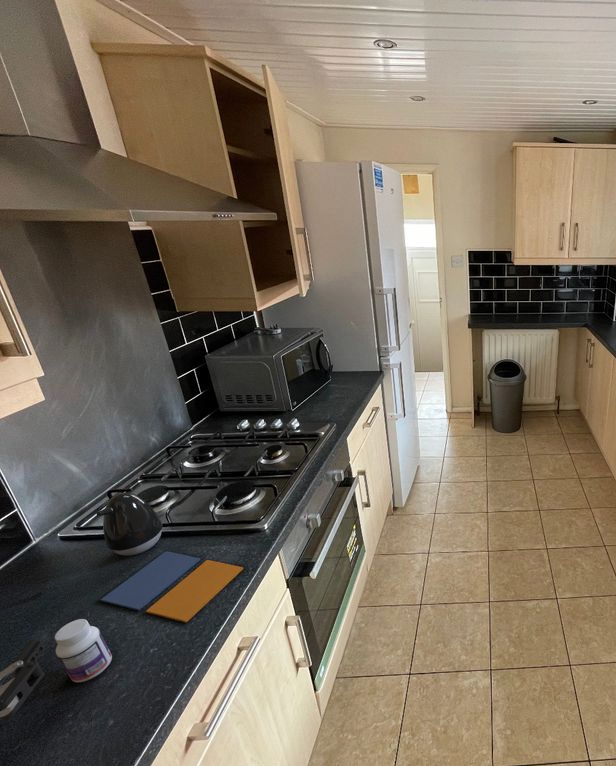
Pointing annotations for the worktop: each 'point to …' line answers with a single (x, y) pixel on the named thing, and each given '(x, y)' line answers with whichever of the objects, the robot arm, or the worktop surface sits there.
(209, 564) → the amber mat
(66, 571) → the worktop surface
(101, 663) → the pill bottle
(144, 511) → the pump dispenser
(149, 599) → the slate mat
